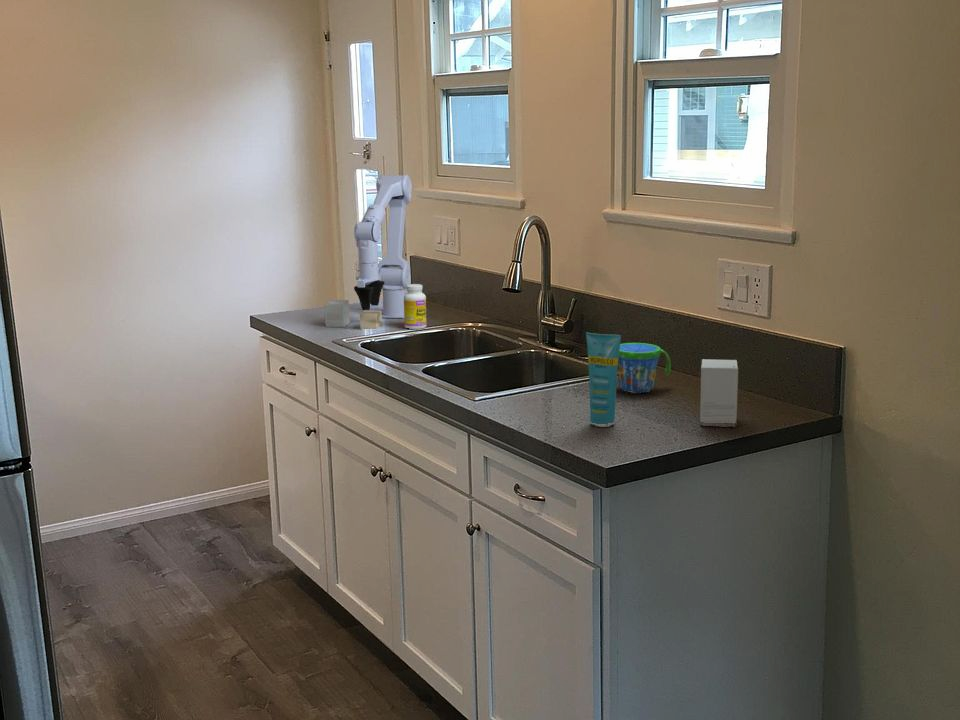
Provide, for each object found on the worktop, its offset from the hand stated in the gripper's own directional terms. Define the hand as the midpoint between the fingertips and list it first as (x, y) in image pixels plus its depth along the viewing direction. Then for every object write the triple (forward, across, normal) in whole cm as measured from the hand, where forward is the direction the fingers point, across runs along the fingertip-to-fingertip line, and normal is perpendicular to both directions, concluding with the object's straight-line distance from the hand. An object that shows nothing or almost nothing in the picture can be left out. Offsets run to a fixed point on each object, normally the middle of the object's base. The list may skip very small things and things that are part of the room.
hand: (370, 307), depth 313 cm
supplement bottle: (+6, -3, +13) cm, 15 cm away
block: (+6, 0, 0) cm, 6 cm away
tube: (+7, +84, +81) cm, 117 cm away
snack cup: (+7, +56, +85) cm, 102 cm away
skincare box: (+7, -3, -12) cm, 14 cm away
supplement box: (+7, +78, +104) cm, 130 cm away
